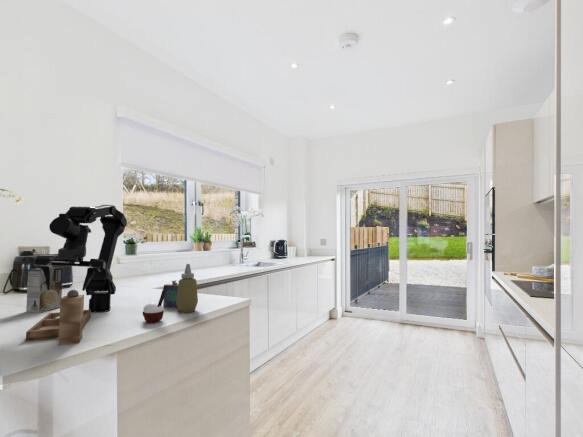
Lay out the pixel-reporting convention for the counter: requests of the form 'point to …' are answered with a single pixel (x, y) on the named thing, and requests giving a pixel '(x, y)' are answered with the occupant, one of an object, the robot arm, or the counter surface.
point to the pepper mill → (71, 318)
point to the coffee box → (43, 291)
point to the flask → (171, 295)
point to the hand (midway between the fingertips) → (66, 290)
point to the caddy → (50, 326)
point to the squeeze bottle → (187, 292)
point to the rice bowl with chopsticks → (154, 309)
